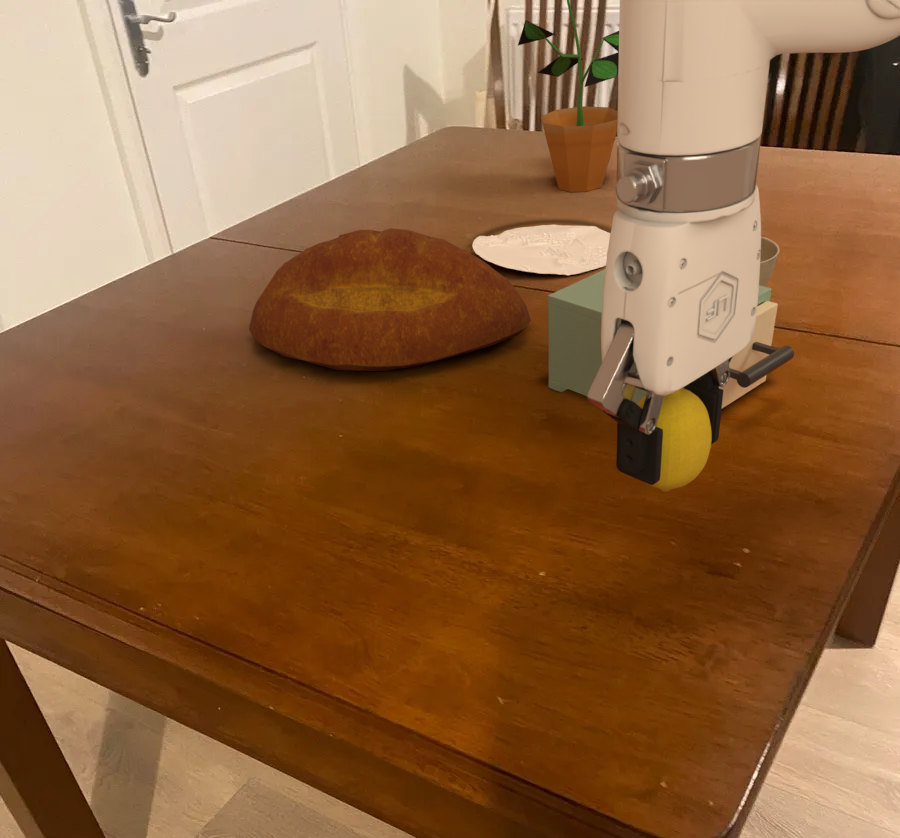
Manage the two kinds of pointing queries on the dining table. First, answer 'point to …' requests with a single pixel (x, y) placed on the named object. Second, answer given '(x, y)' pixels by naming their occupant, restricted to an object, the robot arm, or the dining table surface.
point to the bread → (385, 303)
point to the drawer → (756, 356)
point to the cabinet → (583, 334)
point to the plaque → (546, 249)
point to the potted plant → (579, 117)
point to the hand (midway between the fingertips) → (667, 453)
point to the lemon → (682, 438)
